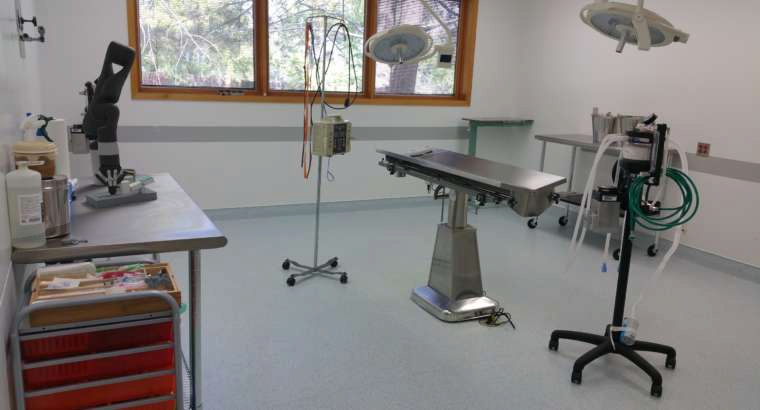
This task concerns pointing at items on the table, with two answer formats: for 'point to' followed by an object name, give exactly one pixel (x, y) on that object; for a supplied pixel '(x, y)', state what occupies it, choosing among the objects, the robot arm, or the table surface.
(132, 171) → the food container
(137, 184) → the rocker
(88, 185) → the table surface
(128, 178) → the grey slider
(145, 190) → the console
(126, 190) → the white slider
